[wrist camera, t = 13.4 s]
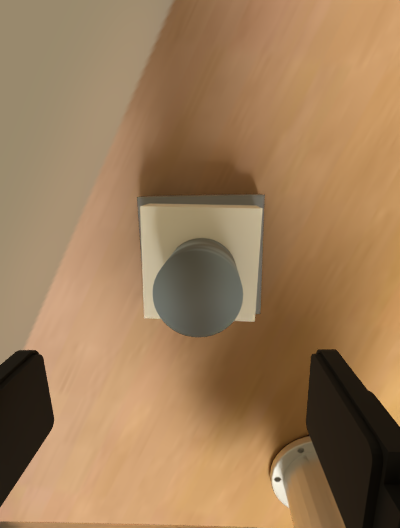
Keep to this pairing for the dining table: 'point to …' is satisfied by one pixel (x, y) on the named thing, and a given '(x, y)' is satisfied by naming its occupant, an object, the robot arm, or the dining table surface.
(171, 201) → the tower bottom
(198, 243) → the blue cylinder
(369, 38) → the dining table surface
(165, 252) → the tower top
